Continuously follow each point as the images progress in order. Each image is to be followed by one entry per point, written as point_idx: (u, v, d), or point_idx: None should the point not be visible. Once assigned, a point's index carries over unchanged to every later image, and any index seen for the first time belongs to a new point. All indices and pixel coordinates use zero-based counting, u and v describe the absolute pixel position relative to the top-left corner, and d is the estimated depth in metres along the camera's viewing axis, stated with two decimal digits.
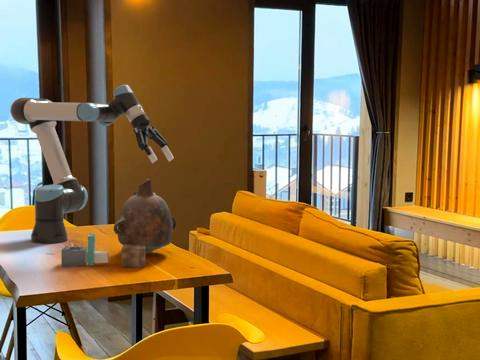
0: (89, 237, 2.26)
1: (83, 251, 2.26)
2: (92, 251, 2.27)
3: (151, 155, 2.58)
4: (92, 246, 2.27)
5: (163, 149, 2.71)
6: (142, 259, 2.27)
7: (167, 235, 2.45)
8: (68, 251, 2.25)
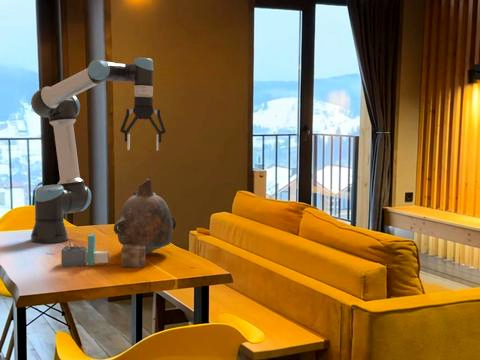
0: (89, 237, 2.26)
1: (83, 251, 2.26)
2: (92, 251, 2.27)
3: None
4: (92, 246, 2.27)
5: None
6: (142, 259, 2.27)
7: (167, 235, 2.45)
8: (68, 251, 2.25)
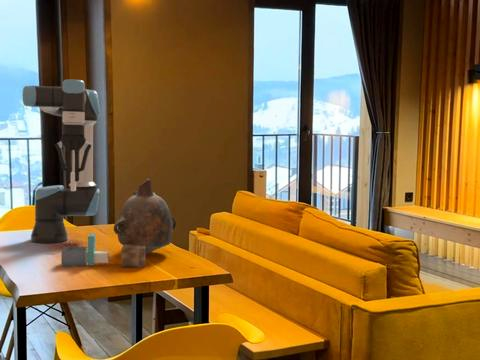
0: (89, 237, 2.26)
1: (83, 251, 2.26)
2: (92, 251, 2.27)
3: None
4: (92, 246, 2.27)
5: None
6: (142, 259, 2.27)
7: (167, 235, 2.45)
8: (68, 251, 2.25)
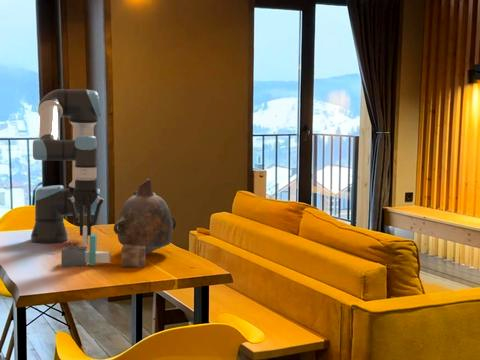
0: (91, 237, 2.26)
1: (83, 251, 2.26)
2: (94, 251, 2.27)
3: (83, 237, 2.28)
4: (94, 246, 2.27)
5: None
6: (142, 259, 2.27)
7: (167, 235, 2.45)
8: (68, 251, 2.25)
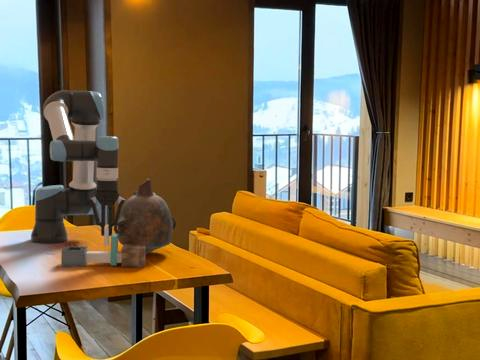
0: (112, 237, 2.27)
1: (83, 251, 2.26)
2: (115, 251, 2.28)
3: None
4: (115, 246, 2.27)
5: None
6: (142, 259, 2.27)
7: (167, 235, 2.45)
8: (68, 251, 2.25)
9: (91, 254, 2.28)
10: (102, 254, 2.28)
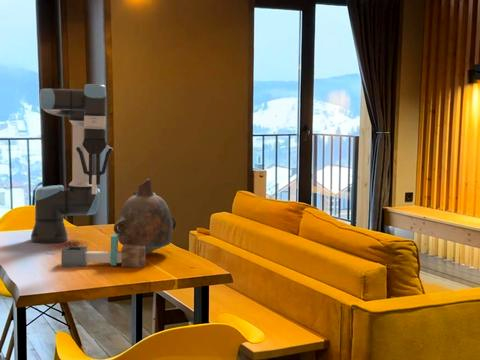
0: (112, 237, 2.27)
1: (83, 251, 2.26)
2: (115, 251, 2.28)
3: (92, 186, 2.29)
4: (115, 246, 2.27)
5: None
6: (142, 259, 2.27)
7: (167, 235, 2.45)
8: (68, 251, 2.25)
9: (91, 254, 2.28)
10: (102, 254, 2.28)
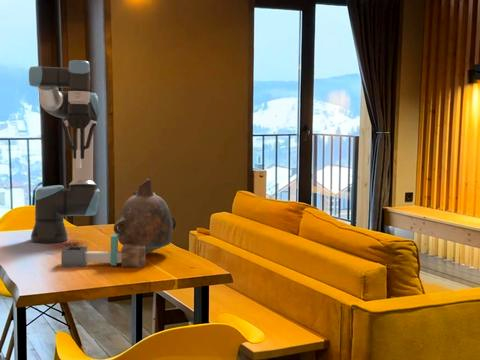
0: (112, 237, 2.27)
1: (83, 251, 2.26)
2: (115, 251, 2.28)
3: None
4: (115, 246, 2.27)
5: None
6: (142, 259, 2.27)
7: (167, 235, 2.45)
8: (68, 251, 2.25)
9: (91, 254, 2.28)
10: (102, 254, 2.28)
